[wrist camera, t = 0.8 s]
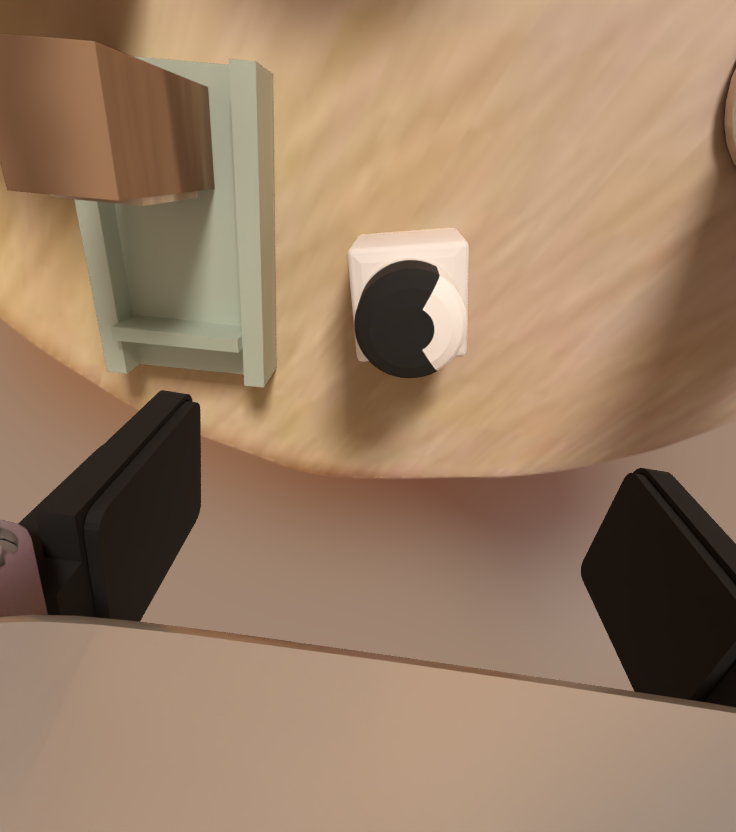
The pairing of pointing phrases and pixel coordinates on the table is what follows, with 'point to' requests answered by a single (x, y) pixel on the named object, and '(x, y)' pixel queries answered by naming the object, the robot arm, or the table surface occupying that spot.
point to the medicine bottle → (409, 299)
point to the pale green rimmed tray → (196, 247)
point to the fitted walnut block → (100, 124)
